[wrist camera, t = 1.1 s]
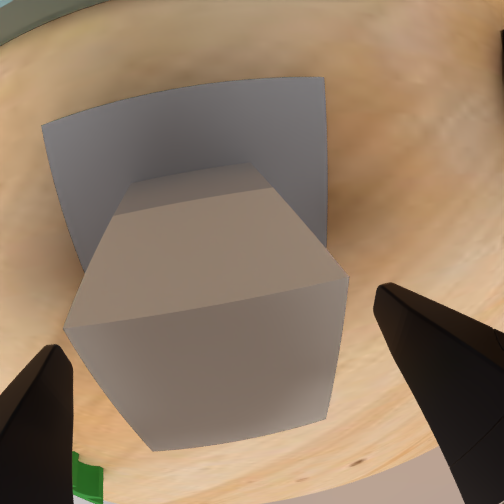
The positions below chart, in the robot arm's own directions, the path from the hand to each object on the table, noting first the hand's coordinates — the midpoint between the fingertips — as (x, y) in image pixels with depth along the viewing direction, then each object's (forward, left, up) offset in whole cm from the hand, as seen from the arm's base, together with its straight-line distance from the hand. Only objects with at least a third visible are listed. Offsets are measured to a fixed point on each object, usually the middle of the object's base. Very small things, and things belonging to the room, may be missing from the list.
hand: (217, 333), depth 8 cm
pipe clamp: (+21, +26, -8) cm, 34 cm away
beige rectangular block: (0, 0, -7) cm, 7 cm away
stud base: (0, 0, -8) cm, 8 cm away
